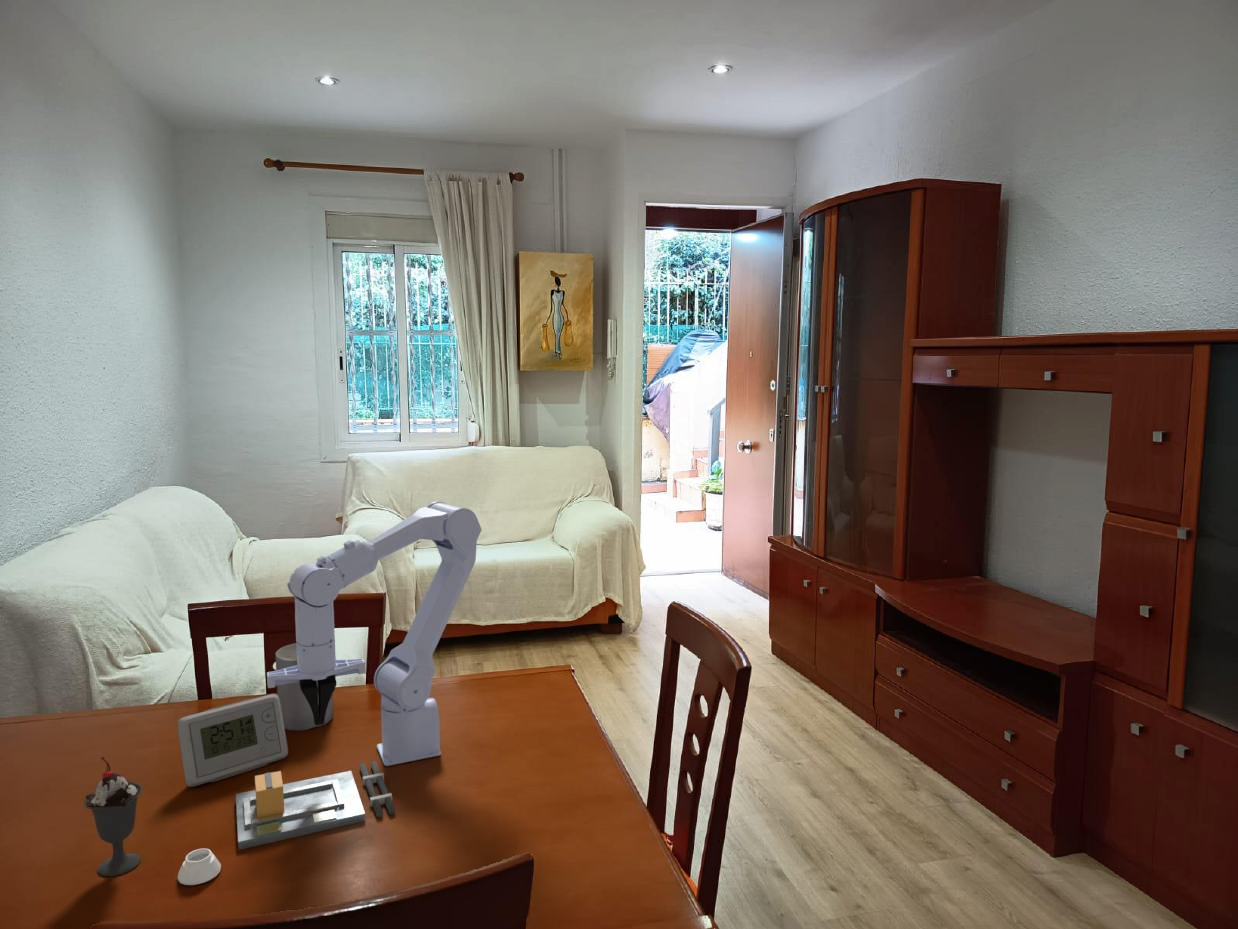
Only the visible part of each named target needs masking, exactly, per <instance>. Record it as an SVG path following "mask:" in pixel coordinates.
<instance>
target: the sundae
mask: <svg viewBox="0 0 1238 929" xmlns="http://www.w3.org/2000/svg"><path fill="white" fill-rule="evenodd" d="M100 759H101V760H102V761H104V762H105V764H106V770H105V771H104V772H103V773H102V774H101V777H102V779H101V780H100V782H99V783H98V784H97V787H96V788H95V790H94V791H92V792H90V793H89V794H87V795H85V798H84V803H83V804H84V807H85V808H86V809H89V810H91V812H92V814H93V819H94V823H95V826H96V830H97V832H98V833H97V834H98V835H99V836H98V837H99V838H100V840H102V841H103V842H105V843H108V844H111V846H112V851H113V852H112V856H111V857H109V858H108V859H106V860H104V861H103V862H102V863H101V864H100V865H99V866H98V867H97V873H98V874H99V875H100V876H102V877H106V876H111V877H117V876H121V875H123V874H126V873H129V872H131V871H133V870H134V869H135V868H136V867H138V865H139V864H140V862H141V856H140V855H139V854H136V853H125V850H124V841H125V840H126V839H127V838H128V837H129V836H130V835H131V833H132V832H133V831H134V828H135V824H136V817H137V816H136V814H137V803H138V797H139V795H140V794H141V793H142V792H143V790H144V787H143V786H141V785H140V784H139V783H137V782H134V781H127V780H126V778H125V777H124V776H122V774H118V773H115V772H114V771H113V770H111V766H110V763H109V762H108V761H107V760H106V759H105V757H104V756H103V755H102V756H101V757H100Z"/></svg>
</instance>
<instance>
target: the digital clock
mask: <svg viewBox="0 0 1238 929" xmlns="http://www.w3.org/2000/svg"><path fill="white" fill-rule="evenodd" d="M176 725H177V734H178V741H179V746H180V753H181V759H182V760H181V761H182V766H183V773H184V778H185V784H186V785H187V786H188V787H190V788H191V787H196V786H200V785H203V784H207V783H214V782H217V781H221V780H224V779H227V778H230V777H234V776H236V775H240V774H244V773H246V772H247V773H248V772H249V771H250V772H251V771H252V770H256V769H259V768H262V767H265V766H268V764H271V763H274V762H277V761H280V760H282V759H285V758H287V757H288V755H289V748H288V742H287V736H286V731H285V730H286V729H284V723H283V717H282V711H281V705H280V700H279V697H278V694H276V693H271V694H266V695H264V696H263V695H262V696H260V697H256V698H252V697H251V698H248V699H244V700H240V701H236V702H233V703H232V702H231V703H229V704H225V705H220V706H217V707H212V708H210V709H204V710H203V711H202V712H198V713H197V712H196V713H195V714H190V715H186V716H183V717H181V718H179V719H178V721H177V724H176Z"/></svg>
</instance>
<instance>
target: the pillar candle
mask: <svg viewBox="0 0 1238 929" xmlns="http://www.w3.org/2000/svg"><path fill="white" fill-rule="evenodd" d="M296 665H297V644H296V642H295V643H291V644H287V645H284V646H282V647H280V648H279V649H278V650H277V651H276V652H275V668H276V669H275V671H277V670H281V669H285V668H288V667H292V666H296ZM316 682H317V680H316ZM317 687H318V684H317ZM276 692H277V694H276V695H278V697H279V700H280V705H281V711H282V717H283V723H284V729H285V730H288V731H295V732H296V731H299V732H300V731H302V732H303V731H306V730H309V729H313V728H318V727H322V726H324V725H326V724H328V723H329V722H331V720H332V719H333V717H334V698H333V697H334V696H333V695H334V694H332V696H331V698H330V701H329V703H328V707H327V710H326V714H325V721H324V724H321V725H315V723H314V718H313V713H312V710H311V707H310V705H309V703H308V701H307V699H306V698H305V696H304V694H303V693H302V691H301V688H300V684H299V682H296V683H290V684H283V685H276Z"/></svg>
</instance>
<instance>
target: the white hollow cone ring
mask: <svg viewBox="0 0 1238 929" xmlns="http://www.w3.org/2000/svg"><path fill="white" fill-rule="evenodd" d="M221 869H222V864H221V863H220V861H219V860H218V858H217V857H216V856H215V854H214V853H213V852H212V851H211V850H210V849H209V848H198V849H195V850H192V851H190V852H189V853H187V854H186V856H185V860H184V861H183V862H182V865H181V866H180V869H179V871H178V873H177V880H178V882H179V883H180V884H181V885H184V886H196V885H200V884H203V883H206V882H208V881H211V880H212V879H214V878H216V877H217V876H218V875H219V873H220V872H221Z"/></svg>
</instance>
